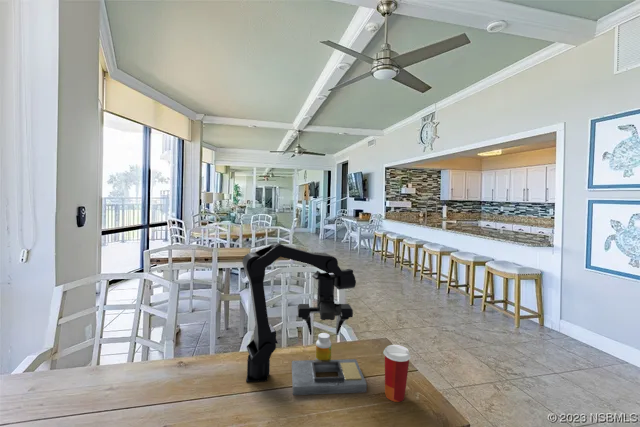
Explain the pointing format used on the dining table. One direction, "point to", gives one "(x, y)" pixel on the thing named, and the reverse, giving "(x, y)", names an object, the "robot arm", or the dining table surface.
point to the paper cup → (396, 371)
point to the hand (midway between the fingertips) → (323, 334)
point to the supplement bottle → (323, 347)
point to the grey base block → (310, 384)
